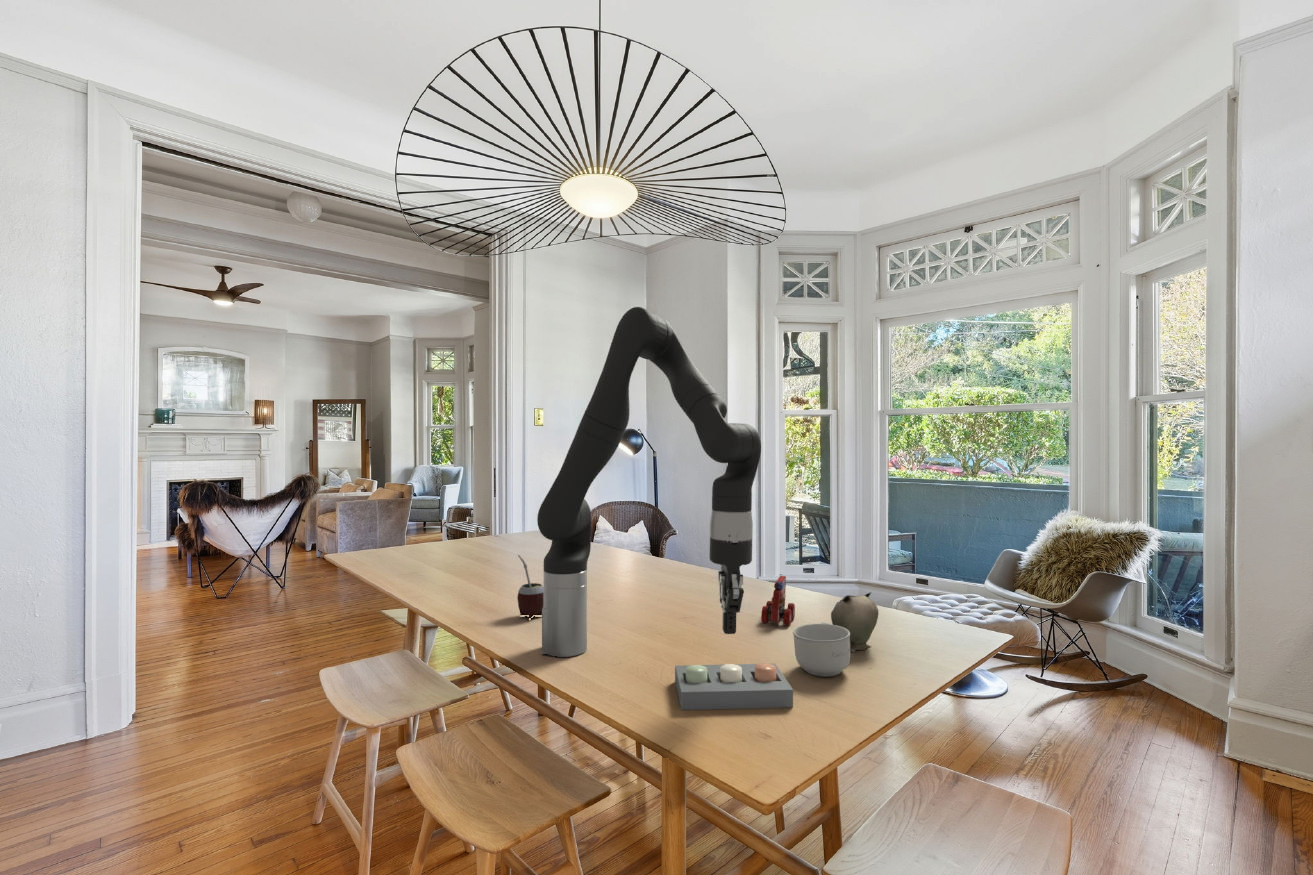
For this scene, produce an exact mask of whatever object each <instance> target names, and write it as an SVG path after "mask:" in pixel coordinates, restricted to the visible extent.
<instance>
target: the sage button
mask: <svg viewBox="0 0 1313 875" xmlns="http://www.w3.org/2000/svg"><path fill="white" fill-rule="evenodd" d="M689 665H690V666H688V667H686V683H707V668H706V667H705V666H702V665H703V664H692V665H691V664H689Z"/></svg>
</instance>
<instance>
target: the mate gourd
mask: <svg viewBox="0 0 1313 875" xmlns="http://www.w3.org/2000/svg"><path fill="white" fill-rule="evenodd" d="M518 558H519V559H520V561H521V562H522V564H523V568H524V571H525V576H526V580H527V583H525V584H522V585H521V586H520V587H519V589H518V592H517V605H518V610H519V613H520V614H519V615H529V618H531V617H532V616H533V615H542V609H543V607H544V585H542V584H541V583H537V582H534V583H532V582H531V580H530V576H529V571H528V564H527V563H526V561H525V560H524V559H523V557H522V556H521V555H520V554H518Z"/></svg>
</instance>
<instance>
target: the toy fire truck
mask: <svg viewBox="0 0 1313 875" xmlns="http://www.w3.org/2000/svg"><path fill="white" fill-rule="evenodd" d="M786 586H787V576H786V575H780V576H779V577H778V578H777V580H776V582H775V583H774V585H773V587H774V590H773V594H772V597H771V600H767V601H766V605H763V606H762V607H761V608H762V609H761V614H760V615H761V617H760V619H761V623H762V624H769V623H770V622H772V623H776V624H777V623H779V622H781V620H782V622H783V625H784V626H786V627H790V626H791V624H792V621H793V620H795V615H796V605H795V603H794V602H789V603H787V607H786V597H787V596H786Z"/></svg>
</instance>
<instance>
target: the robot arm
mask: <svg viewBox="0 0 1313 875" xmlns="http://www.w3.org/2000/svg"><path fill="white" fill-rule="evenodd" d="M607 353H608V354H607V356H606V358H605V362H604V364H603V368H602V371H601V373H600V375H599V378H598V381H597V384H596V386H595V388H594V391H593V393H592V396H591V398H590V400H589V402H588V405H587V406H586V408H585V410H584V413H583V415H582V417H581V419H580V422H579V424H578V426H577V430H576V432H575V435H574V437H573V440H572V442H571V443H570V446H569V448H568V451H567V453H566V456H565V458H564V461H563V463H562V466H561V468H560V470H559V472H558V474H557V476H556V478H555V480H554V481H553V483H552V485H551V487H550V488H549V490H548V492H547V493H546V496H545V497H544V499H543V501H542V502H541V504H540V506H539V508H538V513H537V516H536V517H537V520H536V521H537V526H538V530H539V533H541V535H542V536H543V537H544V538H545V539H547V540H549V541H551V545H550V548H549V550H548V551H547V553H546V554H545V556H544V558H543V587H544V607H543V609H542V618H541V655H542V654H549V655H548V656H550V655H551V657H555V656H557V658H566V657H567V658H568V657H575V656H578V655H581V654H583V653H585V652H586V651H587V650H586V649H588V561H589V560H588V559H589V557H590V555H591V548H592V546H591V545H592V543H591V541H592V512H591V508H590V505H589V503H588V502H587V500H586V499H585V498H586V495H587V493H588V491H589V489H590V487H591V486H592V484H593V482H594V480H596V478H597V476H598V475H599V474H600V473H601V471H602V470H603V469H604V468H605V467H606V465H607V464H608V463H609V461H611V460H610V459H611V458H612V457H613V456H614V454H615V453H616V451H617V449H618V447H619V446H620V443H621V441H622V439H623V436H624V433H625V432H626V430H627V427H628V424H629V420H630V381H631V377H632V374H633V372H634V369H635V366H636V364H637V361H638V360H639V358H642V359H644V360H649V361H650V362H651V363H653V365H655V366H656V367H657V368H658V369H659V370H661V372H663V374H664V375H665V377H667V380H668V382H669V385H670V388H671V392H672V395H673V397H674V399H675V401H676V404H677V405H678V406H679V407H680V408H681V410H682V411H683V413H685V415H686V416H687V417H688V419H689V420H690V422H691V423H692V424H693V427H694V429H695V432H696V435H697V437H698V439H699V443H700V445H701V448H702V449H703V451H704V452H705V453H706V455H707V456H709V458H710V459H712V460H713V461H715V462H717V463H721V464H726V469H725V473H724V474H722V475H720V476H719V477H716V478H715V479H714V480H713V482H712V491H711V516H710V520H709V522H710V523H709V560H710V562H711V563H712V564H715V565H719V566H720V570H718V571H717V579H718V596H719V603H720V605H721V607H720V608H721V611H722V627H721V628H722V631H723V633H724V634H725V635H735V634H736V632H737V614H738V613H740V612H741V608H742V602H743V599H744V598H743V597H744V593H745V590H744V588H743V585H744V575H743V574H742V573H741V569H740V568H741V567H742V566H747V565H749V564H751V563H752V561H753V535H754V534H753V526H754V525H753V515H752V510H753V509H752V506H753V504H752V503H753V501H752V499H753V493H752V492H753V491H752V489H753V484H754V482H755V478H756V474H757V471H758V467H759V464H760V459H761V454H762V442H761V438H760V435H759V432H758V431H757V429H756V428H755V427H754V426H752V425H750V424H748V423H738V422H737V423H733V422H732V423H731V422H728V421H727V420H726V419H725V418H726V417H727V412H728V408H727V404H726V402H725V401H724V399H723V398H722V397H721V396H720V395H719V393H718V392H717V391H716V390H715V388H714V387H713V386H712V385H711V384H710V383H709V381H708V380H707V379H706V377H704V375H703V374H702V373H701V372H700V370H699V369H698V368H697V366H696V365H695V364H694V363H693V361H692V360H691V357H690V356H689V355H688V353H687V351H686V350H685V348H684V346H683V344H682V342H681V340H680V339H679V337H678V334H677V333H676V332H675V330H674V328H673V327H672V325H671V323H669V321H668V320H667V319H665V318H663V317H662V316H660V315H658V314H656V313H654V312H652V311H650V310H648V309H646V308H644V307H641V306H634V307H632V308H630V309H629V310H626V311H625V313H624V314H623V316H622V317H621V318H620V320H619V322H618V324H617V326H616V329H615V331H614V334H613V336H612V340H611V343H610V347H609V349H608V352H607Z"/></svg>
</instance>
